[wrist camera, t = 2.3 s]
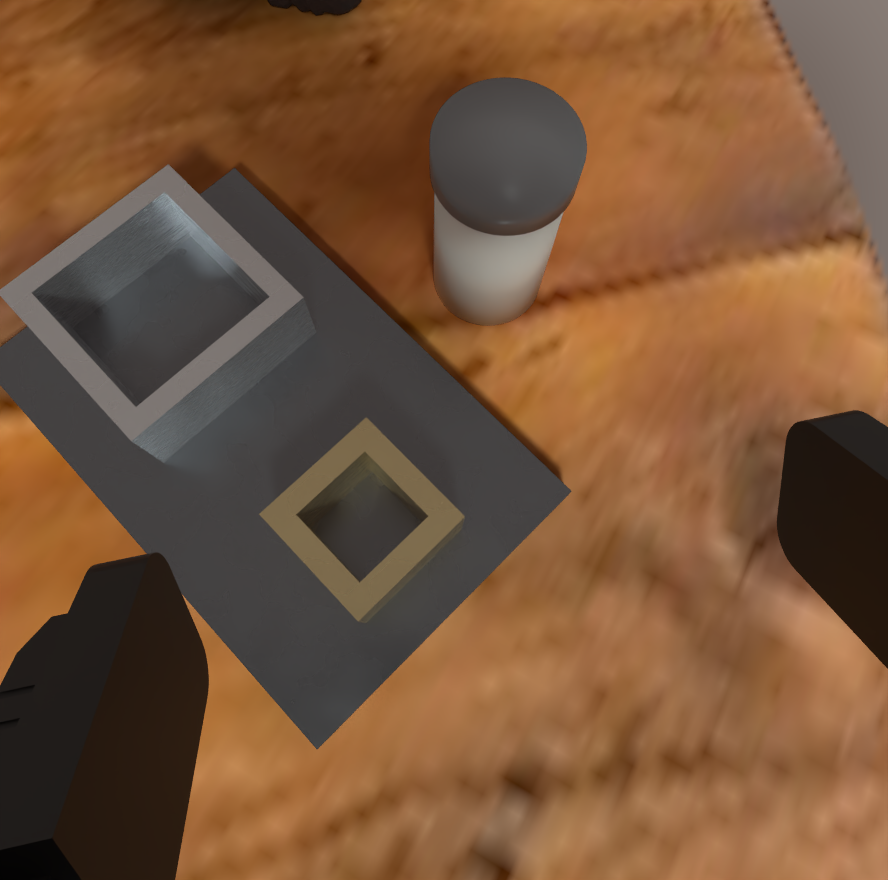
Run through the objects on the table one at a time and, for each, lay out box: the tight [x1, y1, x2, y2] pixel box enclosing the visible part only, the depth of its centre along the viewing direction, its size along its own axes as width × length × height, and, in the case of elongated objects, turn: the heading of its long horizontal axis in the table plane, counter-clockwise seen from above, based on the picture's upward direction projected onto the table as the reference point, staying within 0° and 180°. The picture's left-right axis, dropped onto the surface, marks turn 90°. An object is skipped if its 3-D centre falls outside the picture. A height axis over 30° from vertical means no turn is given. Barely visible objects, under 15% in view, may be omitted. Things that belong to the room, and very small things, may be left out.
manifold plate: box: [0, 164, 571, 749], centre depth 31 cm, size 23×15×5 cm, turn 45°
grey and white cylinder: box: [430, 78, 587, 326], centre depth 31 cm, size 6×6×10 cm
